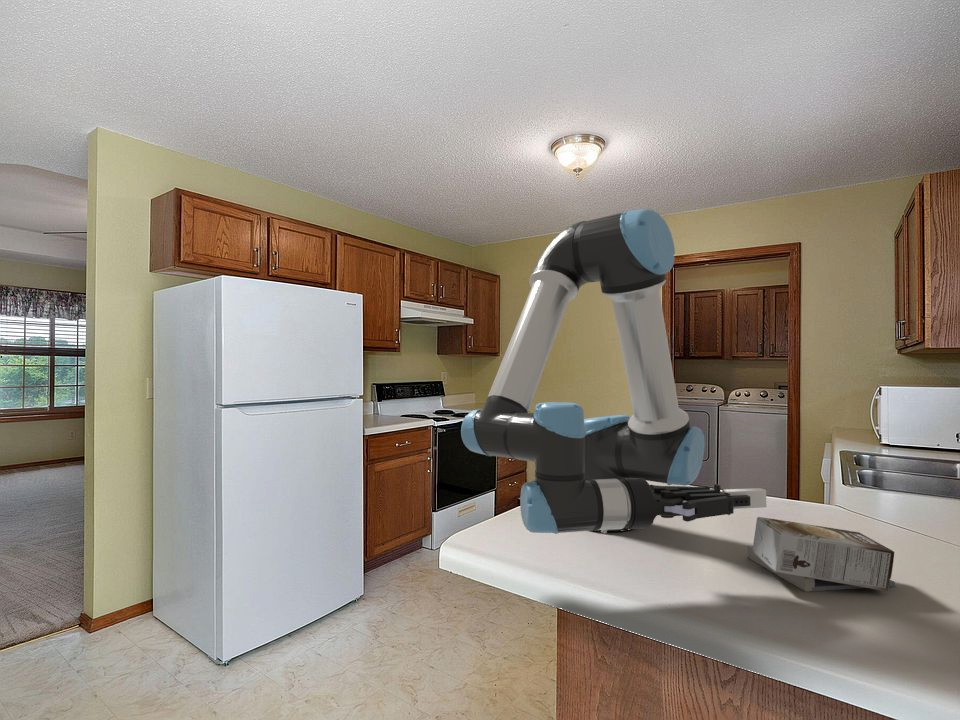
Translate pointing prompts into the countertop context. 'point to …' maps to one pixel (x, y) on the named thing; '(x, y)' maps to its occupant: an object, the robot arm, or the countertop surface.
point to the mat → (806, 578)
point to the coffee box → (823, 553)
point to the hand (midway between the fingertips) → (763, 497)
